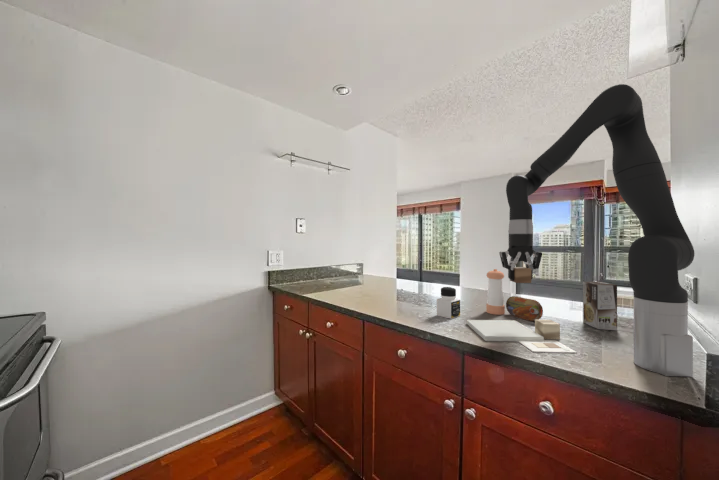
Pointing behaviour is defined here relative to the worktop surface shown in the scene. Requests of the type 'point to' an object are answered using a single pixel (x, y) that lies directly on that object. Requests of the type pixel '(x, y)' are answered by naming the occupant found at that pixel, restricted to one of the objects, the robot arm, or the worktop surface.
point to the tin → (524, 308)
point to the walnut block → (522, 275)
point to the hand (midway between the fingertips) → (520, 280)
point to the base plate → (503, 330)
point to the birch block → (547, 329)
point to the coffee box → (600, 305)
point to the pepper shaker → (495, 293)
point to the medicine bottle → (448, 303)
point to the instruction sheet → (546, 346)
